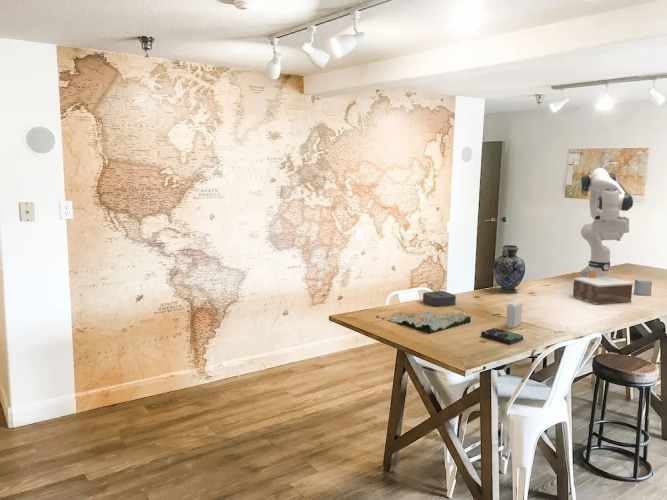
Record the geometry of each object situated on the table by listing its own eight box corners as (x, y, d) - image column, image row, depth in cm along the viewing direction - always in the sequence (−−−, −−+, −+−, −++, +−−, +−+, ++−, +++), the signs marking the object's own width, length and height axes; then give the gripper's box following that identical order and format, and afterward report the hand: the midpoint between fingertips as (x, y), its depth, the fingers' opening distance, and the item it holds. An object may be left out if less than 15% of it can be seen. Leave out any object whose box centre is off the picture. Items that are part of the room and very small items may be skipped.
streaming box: (420, 301, 298) (421, 292, 297) (442, 299, 304) (442, 290, 303) (435, 307, 285) (435, 298, 284) (457, 305, 290) (457, 296, 290)
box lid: (573, 279, 308) (574, 271, 307) (606, 277, 313) (606, 269, 312) (598, 286, 288) (599, 277, 287) (633, 284, 293) (633, 275, 293)
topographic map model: (376, 318, 266) (376, 308, 265) (416, 309, 284) (416, 300, 283) (429, 335, 238) (430, 324, 238) (470, 323, 256) (471, 313, 256)
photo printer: (513, 328, 246) (515, 303, 244) (505, 327, 248) (506, 301, 247) (522, 324, 253) (523, 299, 252) (513, 322, 256) (514, 297, 254)
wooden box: (572, 296, 309) (573, 280, 307) (604, 294, 314) (605, 278, 313) (597, 304, 290) (598, 287, 288) (630, 302, 295) (632, 285, 293)
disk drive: (480, 338, 234) (510, 346, 223) (480, 332, 234) (510, 339, 223) (493, 333, 241) (523, 340, 230) (493, 327, 240) (523, 334, 229)
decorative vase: (498, 285, 337) (500, 242, 333) (527, 289, 327) (531, 245, 322) (486, 292, 320) (489, 246, 316) (517, 296, 310) (520, 249, 305)
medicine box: (647, 293, 315) (648, 279, 314) (651, 295, 311) (652, 281, 309) (633, 293, 316) (634, 279, 315) (636, 295, 311) (638, 280, 310)
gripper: (631, 216, 297) (631, 240, 298) (596, 216, 314) (596, 239, 315) (626, 216, 294) (625, 241, 295) (590, 216, 311) (590, 240, 312)
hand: (610, 240), depth 305 cm, fingers open, 8 cm apart
